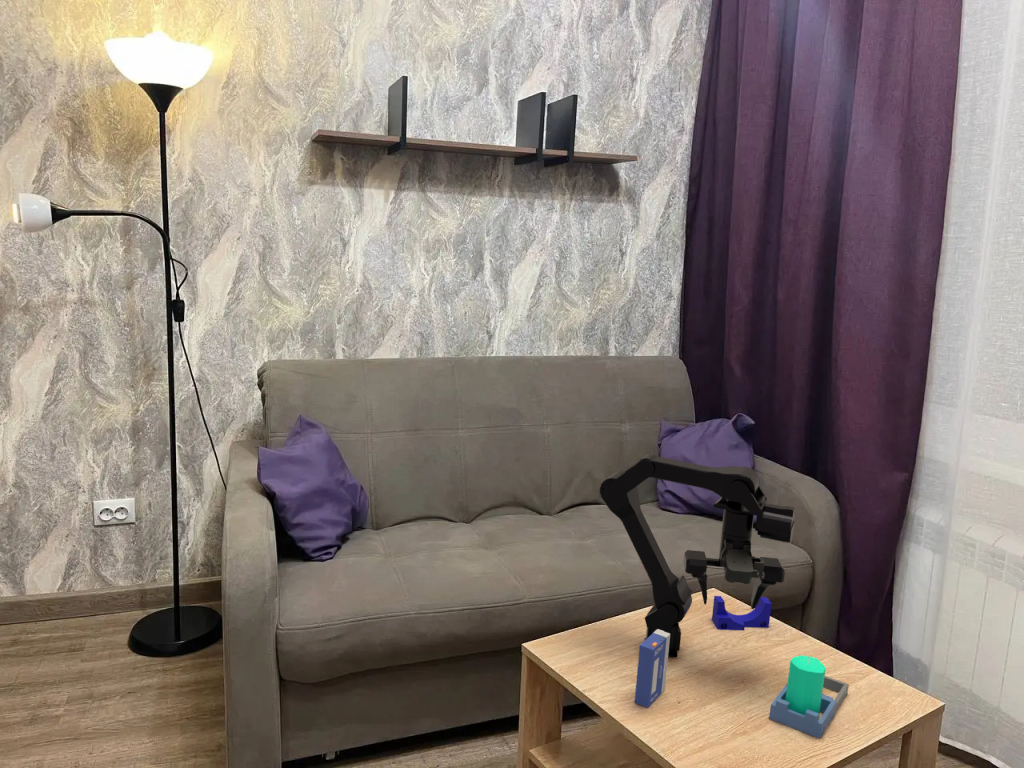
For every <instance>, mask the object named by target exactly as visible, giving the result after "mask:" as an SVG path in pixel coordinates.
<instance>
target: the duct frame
mask: <svg viewBox="0 0 1024 768" xmlns="http://www.w3.org/2000/svg"><path fill="white" fill-rule="evenodd" d="M787 684H788V682H787V683H786V684H785V685H784V686H783V688H782V689H781V691H780V692H779V693H778V695H776V697H775V699H774V700H773V701H772V702H771V703H770V708H769V716H768V718H769V719H770V720H773V721H774V722H777V723H779V724H783V725H784V726H788V727H789V728H792V729H795V730H797V731H800V732H801V733H805V734H808V735H810V736H812V737H815V738H817V739H821V737H822V736H823V734H824V733H825V731H826V729H827V728H828V726H829V725H828V724H830V723H831V721H832V720H833V718H834V717H835V715H836V713H837V712H836V711H838V710H839V708H840V706H841V705H842V703H843V701H844V700H845V698H846V697H847V695H848V691H849V686H850V685H849V683H846V682H843V681H842V680H838V679H835V678H832V677H829V676H826V675H825V677H824V684H823V688H825V689H829V690H831V691H834V692H837V695H836V697H835V698H834V697H832V696H829V695H827V694H823V693H822V698H821V706H820V713H822V716H821V717H820V713H816V712H814V711H811V710H808V709H807V711H806V712H805V715H803V714H800V713H797V712H795V711H792V710H790V709H788V708H789V702H787V701H785V699H786V691H787ZM818 717H819V718H820V719H819V720H818Z"/></svg>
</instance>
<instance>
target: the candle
mask: <svg viewBox="0 0 1024 768" xmlns="http://www.w3.org/2000/svg"><path fill="white" fill-rule="evenodd" d="M788 669H789V670H788V678H787V683H788V684H787V683H786V684H787V691H786V699H785V701H787V702H789V708H788V709H790V710H792V711H795V712H797V713H800V714H803V715H805V712H806V711H807V709H808V710H811V711H814V712H816V713H819V714H820V713H821V712H820V706H821V698H822V694H823V690H824V689H823V688H824V687H823V684H824V677H825V676H826V669H827V668H826V666H825V665H824V664H823V663H822V662H821V661H820V660H819V659H818V658H817V657H813V656H810V655H801V654H800V655H797V656H793V657H791V659H790V662H789V668H788ZM819 718H820V716H819V717H818V721H819V720H820V719H819Z"/></svg>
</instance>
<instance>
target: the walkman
mask: <svg viewBox="0 0 1024 768" xmlns="http://www.w3.org/2000/svg"><path fill="white" fill-rule="evenodd" d="M669 642H670V633H667V632H664V631H662V630H659V629H657V630H656V631H655V632H654V633H653V634H652V635H650V636H649V637H648V638H647V639H646V640H645V639H644V641H643V642H642V643H640V644H639V651H638V659H637V660H638V661H637V671H636V682H635V683H636V684H635V694H634V703H635V704H637V705H640V706H642V707H644V708H647V709H648V708H649V707H650V706H651V705H652V704H654V702H655V701H656V700H657V699H658V698H659V697H660V696H661V695H662V694H663V692H664V691H665V690H666V681H667V672H668V662H669V661H668V660H669V657H668V652H669Z"/></svg>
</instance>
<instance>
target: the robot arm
mask: <svg viewBox="0 0 1024 768" xmlns="http://www.w3.org/2000/svg"><path fill="white" fill-rule="evenodd" d="M650 478H653V479H658V480H662V481H666V482H667V481H668V482H672V483H676V484H681V485H686V486H691V487H696V488H700V489H706V490H708V491H711V492H712V493H713V494H716V495H717V496H719V497H720V498H718V499H717V500H716V501H715V503H714V504H713V508H716V509H720V510H723V514H722V515H723V516H722V526H721V534H720V544H719V552H718V553H719V554H718V558H711V557H706V556H707V555H706V553H705V551H701V550H692V549H691V550H690V549H687V550H685V552H684V553H683V560H682V561H683V562H682V563H683V567H684V572H685V573H686V574H690V575H691V577H692V578H695V579H697V582H698V584H699V586H700V593H701V595H702V600H703V605H707V602H708V575H707V569H715V570H724V578H725V579H724V580H725V581H726V582H727V583H730V584H731V583H741V584H744V585H750V584H751V583H752V579H753V578H754V582H753V587H752V593H751V599H750V609H751V610H754V609H755V608H756V607H757V605H758V603H759V601H760V597H762V595H763V593H764V592H765V591H766V589H767V588H769V587H771V586H776V584H777V583H781V584H782V583H783V582H784V581H785V573H786V572H785V568H784V566H783V565H782V562H781V561H780V560H779V559H778V558H777V557H767V556H766V557H765V556H760V557H756V556H753V554H752V535H753V527H754V531H755V532H757V534H756V535H758V536H759V538H761V539H766V540H772V541H775V542H780V543H786V544H792V542H793V537H794V532H795V524H796V520H795V507H793V506H790V505H789V506H788V505H787V506H786V505H784V506H782V505H777V504H772V503H768V502H769V499H768V498H767V496H766V494H765V493H764V491H763V490H762V488H761V486H760V478H759V475H758V474H757V473H756V472H755V470H754V469H752V468H751V467H748V466H741V465H740V466H735V465H734V466H733V465H729V466H728V465H727V466H719V467H714V466H709V465H703V464H697V463H691V462H687V461H683V460H676V459H673V458H667V457H661V456H657V455H655V454H653V453H651V454H646V455H645V456H643V457H642V458H641V459H640V460H639V461H637V462H636V463H635V464H633V465H632V466H630V467H629V468H628V469H626V470H619V471H615V472H613V473H612V474H611V475H609V476H608V477H606V479H604V480H603V481H602V482H601V484H600V487H599V496H600V498H601V499H602V501H603V502H604V504H605V505H606V507H607V509H608V510H609V511H610V512H611V513H612V514H614V516H616V517H617V518H618V519H619V520H620V521H621V523H622V525H623V527H624V529H625V531H626V534H627V535H628V537H629V540H630V541H631V544H632V546H633V548H634V549H635V551H636V553H637V556H638V558H639V560H640V562H641V565H642V566H643V568H644V570H645V572H646V574H647V576H648V578H649V581H650V583H651V589H652V590H651V591H652V598H653V599H652V600H653V602H654V604H653V605H652V607H651V608H650V609H649V611H648V612H647V614H646V615H645V617H644V621H645V624H646V631H645V637H644V641H645V640H646V639H647V638H648V637H649V636H650V635H652V634H653V633H654V632H655V631H656V630H657V629H659V630H662V631H664V632H667V633H670V642H669V652H668V658H678V655H679V654H678V652H679V651H680V650H681V647H680V646H681V640H682V638H681V637H682V629H681V627H680V624H679V623H680V622H682V621H683V620H684V618H685V616H686V615H687V613H688V611H689V610H690V608H691V606H692V603H693V597H692V595H693V590H692V589H691V588H690V586H689V584H688V582H687V579H686V577H685V575H681V576H679V577H678V576H677V575H675V574H674V573H673V572H672V570H671V569H670V567H669V565H668V562H667V561H666V558H665V557H664V554H663V552H662V550H661V548H660V546H659V544H658V542H657V539H656V538H655V536H654V534H653V532H652V530H651V527H650V526H649V523H648V521H647V519H646V517H645V515H644V514H643V510H642V508H641V500H640V499H641V498H640V493H639V489H638V486H639V485H640V484H642V483H643V482H645V481H646V480H647V479H650ZM755 516H756V519H755ZM754 519H755V526H754Z"/></svg>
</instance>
